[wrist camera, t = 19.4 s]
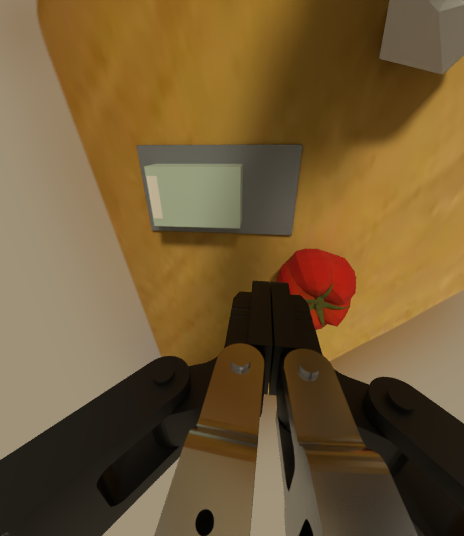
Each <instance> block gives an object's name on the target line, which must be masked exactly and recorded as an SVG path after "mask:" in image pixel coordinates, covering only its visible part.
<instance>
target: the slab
mask: <svg viewBox="0 0 464 536" xmlns="http://www.w3.org/2000/svg"><path fill="white" fill-rule="evenodd" d="M144 169H145V175H146V181H147V186H148V192H149V198H150V204H151V209H152V215H153V221H154V226H175V227H208V228H240V227H241V223H242V195H243V164H153V165H148V166H144Z"/></svg>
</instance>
